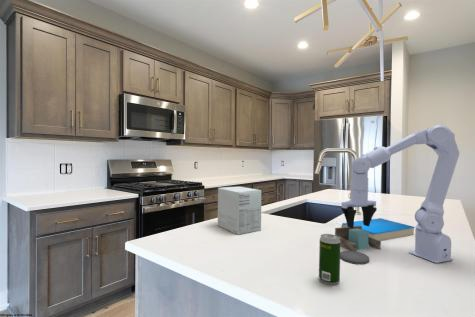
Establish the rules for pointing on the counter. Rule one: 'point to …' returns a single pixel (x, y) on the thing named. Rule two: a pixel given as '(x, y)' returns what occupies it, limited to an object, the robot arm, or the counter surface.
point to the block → (359, 238)
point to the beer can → (329, 259)
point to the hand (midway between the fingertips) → (358, 226)
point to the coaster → (354, 257)
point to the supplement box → (239, 209)
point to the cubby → (345, 243)
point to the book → (384, 229)
